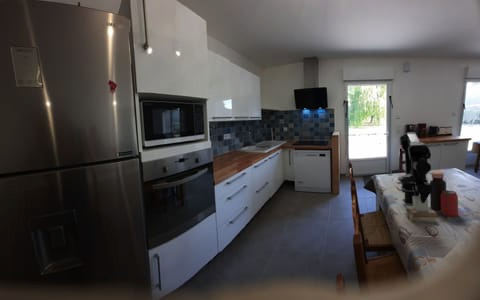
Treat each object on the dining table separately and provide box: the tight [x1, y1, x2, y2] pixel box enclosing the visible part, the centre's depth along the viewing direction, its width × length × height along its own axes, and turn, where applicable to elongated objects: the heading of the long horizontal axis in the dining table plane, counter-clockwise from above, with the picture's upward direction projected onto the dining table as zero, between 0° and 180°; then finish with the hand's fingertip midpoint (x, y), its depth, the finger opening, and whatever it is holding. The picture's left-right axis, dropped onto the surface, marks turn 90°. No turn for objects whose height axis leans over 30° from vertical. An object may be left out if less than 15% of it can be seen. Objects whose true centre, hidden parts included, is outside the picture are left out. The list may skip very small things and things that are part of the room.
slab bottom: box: [406, 211, 437, 222], centre depth 120 cm, size 10×10×2 cm
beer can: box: [440, 189, 459, 217], centre depth 121 cm, size 7×7×12 cm
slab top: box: [405, 205, 438, 218], centre depth 120 cm, size 10×10×2 cm
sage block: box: [412, 195, 429, 211], centre depth 120 cm, size 5×5×6 cm
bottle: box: [429, 171, 447, 212], centre depth 129 cm, size 7×7×20 cm
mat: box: [404, 212, 440, 225], centre depth 121 cm, size 14×11×1 cm
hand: (419, 200), depth 120 cm, fingers open, 9 cm apart
